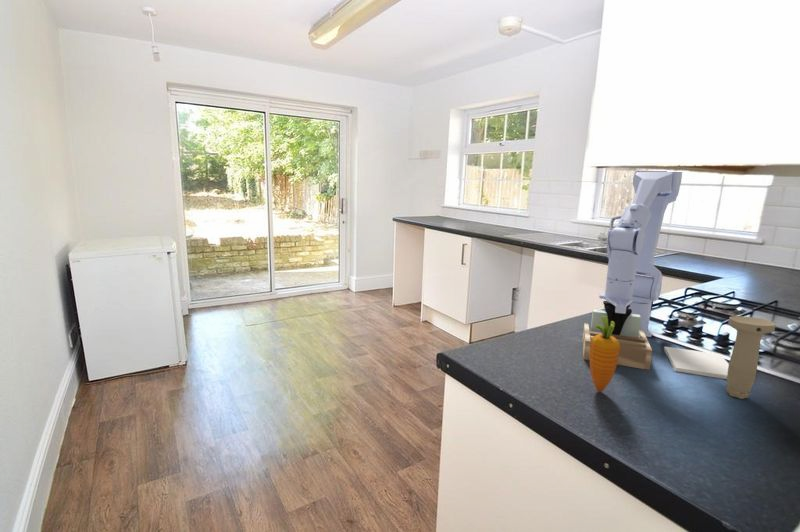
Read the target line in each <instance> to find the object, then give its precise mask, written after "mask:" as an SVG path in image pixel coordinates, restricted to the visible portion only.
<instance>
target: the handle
mask: <svg viewBox="0 0 800 532" xmlns="http://www.w3.org/2000/svg"><path fill="white" fill-rule="evenodd" d="M728 325H730V327H731V328H733V329H734V330H736V338H735V341H734V345H733V349H732V352H731V356H730V359H729V362H728V364H729V366H728V374H727V379H726V383H727V384H726V386H725V387H726V388H725V389H726V393H727V394H728V395H729V396H730V397H733V398H737V399H740V400H744V399H748V398H749V397H750V395H751V390H752V388H753V385H754V384H755V379H756V376H757V372H758V365H759V364H758V362H759V354H760V348H761V347H760V346H761V340H762V338H763V335H765V334H766V335H767V334H770V333H774V332H775V329H776V326H777V324H776V323H775V322H773V321H771V320H767V319H765V318H758V317H752V316H744V315H743V316H741V315H740V316H739V315H738V316H737V315H734V316H733V315H732V316H729V318H728Z"/></svg>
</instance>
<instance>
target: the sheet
mask: <svg viewBox="0 0 800 532" xmlns="http://www.w3.org/2000/svg"><path fill="white" fill-rule="evenodd" d="M591 314H592V315H591V324H590V331H592V332H599V333H602V332H601V331H600V329H599V328H597V327H596V326H595V325H596V324H599V325H601V326H602V327H604V323H603V320H602V316H606V318H607V321H608V316H607V313H606V310H603V309H602V310H601V309H594V308H593V309H592V313H591ZM640 320H641V317H640V315H638V314H630V315H629V316H628V318H627V319H626V321H625V323H624V325H623V328H622V331H621V333H620V335H621V336H629V337H636V338H638V335H639V327H640ZM604 328H605V327H604Z"/></svg>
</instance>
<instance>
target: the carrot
mask: <svg viewBox="0 0 800 532" xmlns="http://www.w3.org/2000/svg"><path fill="white" fill-rule="evenodd" d="M602 320H603V323H604V327H605V328H604V327H602V326H601V325H599V324H596V325H595V326H596V327H597V328H599V329H600V331H601V332H602V334H598V335H596V336H594V337H592V338H591V342H590V358H589V360H588V361H589V369H590V371H589V372H590V376H591V379H592V382H593V384H594V387H595V390H596V391H597V392H598V393H601V392H604V390H605V389H606V388H607V387H608V385H609V384H610V383H611V381H612V379H613V376H614V374H615V373H616V372H615V371H616V369H617V366H618V365H617V362H618V357H619V350H620V343H619V342H618V340H617V339H616V338H615V337H613V336H611V334H612V332H613V329H614V325H615V323H614V322H613V321H611V324H610V326H609V325H608V321H607V318H606V316H602Z"/></svg>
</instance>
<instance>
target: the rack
mask: <svg viewBox="0 0 800 532" xmlns="http://www.w3.org/2000/svg"><path fill="white" fill-rule="evenodd" d="M598 334H602V333H599V332H592V331H591V330H590V325H589V323H585V322H584V323H583V331H582V354H583V355H582V356H583V360H585V361H589V358H590V342H591V338H592V337H594V336H596V335H598ZM611 336H613V337H615V338H616V339H617V340H618V342H619V343H620V350H619V357H618V362H617V366H622V367H623V366H624V367H629V368H636V369H637V368H638V369H641V370H648V371H650V369H651V362H652V357H653V356H652V355H653V349H652V347H651V345H650V343H649V340H648V337H646V336H645V333H644V331H642V330H639V335H638V338H636V337H629V336H621V335H614V334H611Z"/></svg>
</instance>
